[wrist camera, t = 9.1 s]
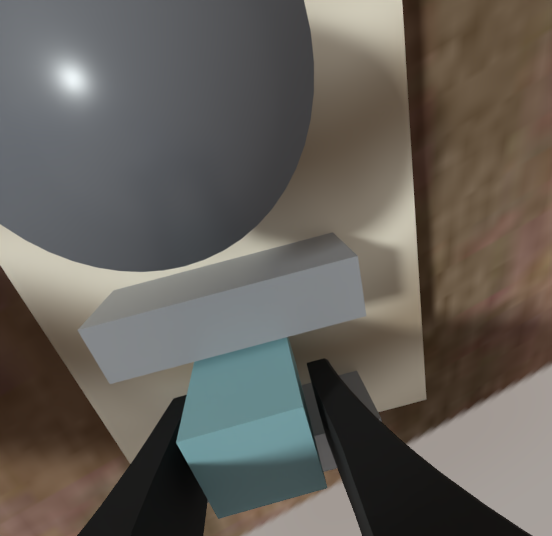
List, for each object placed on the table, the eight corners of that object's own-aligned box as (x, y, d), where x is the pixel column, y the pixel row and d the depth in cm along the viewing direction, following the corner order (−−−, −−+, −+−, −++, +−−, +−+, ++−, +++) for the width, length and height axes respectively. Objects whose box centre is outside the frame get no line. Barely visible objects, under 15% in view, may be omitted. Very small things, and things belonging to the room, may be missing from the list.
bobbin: (3, 5, 8) (-277, -158, 3) (250, -59, 8) (257, -298, 4) (115, 242, 10) (27, 307, 6) (301, 193, 10) (341, 225, 6)
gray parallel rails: (113, 290, 11) (77, 330, 8) (332, 232, 11) (357, 255, 8) (194, 448, 14) (184, 509, 12) (362, 403, 14) (386, 454, 12)
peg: (202, 324, 11) (176, 442, 7) (278, 303, 11) (302, 406, 7) (226, 383, 13) (218, 518, 8) (296, 364, 13) (327, 488, 8)
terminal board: (-415, -491, 6) (-634, -705, 4) (319, -680, 6) (344, -955, 4) (147, 446, 16) (138, 476, 14) (410, 377, 16) (426, 399, 14)
